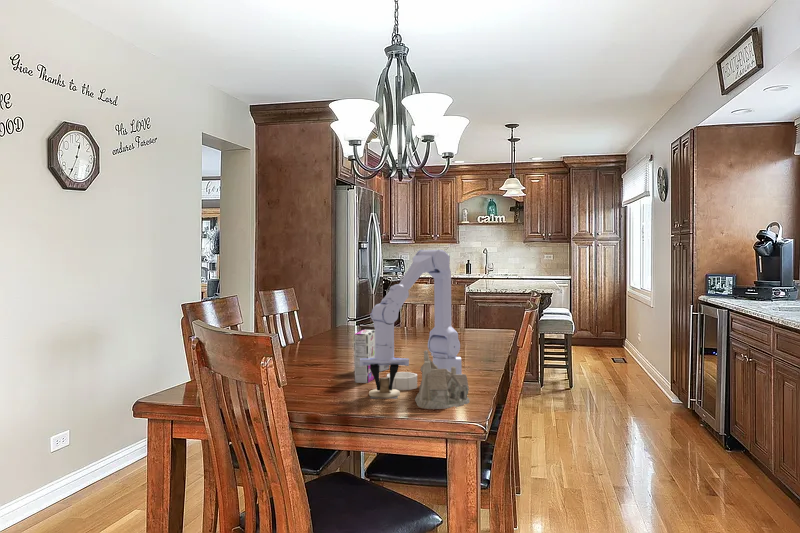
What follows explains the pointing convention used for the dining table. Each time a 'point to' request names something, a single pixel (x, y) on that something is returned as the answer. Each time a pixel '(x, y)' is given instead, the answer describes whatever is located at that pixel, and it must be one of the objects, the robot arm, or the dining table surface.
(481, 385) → the dining table surface
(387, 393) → the lid
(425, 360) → the ceramic cottage
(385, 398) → the mat
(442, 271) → the robot arm
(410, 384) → the bowl
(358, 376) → the candy bar box
